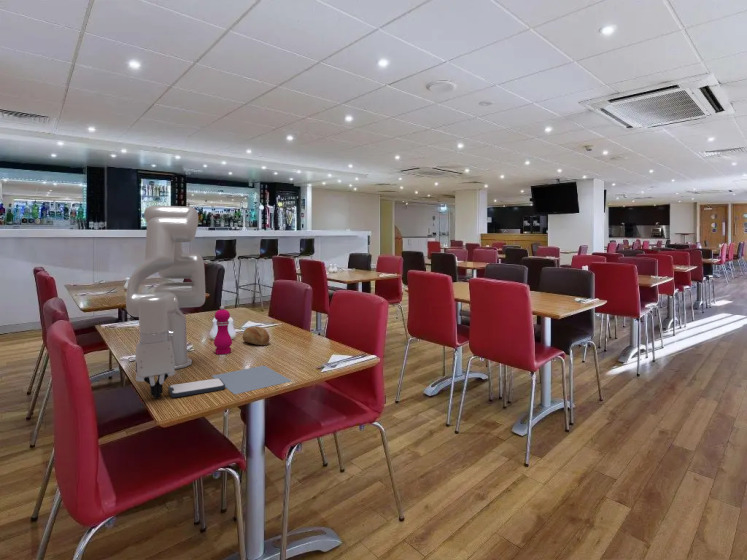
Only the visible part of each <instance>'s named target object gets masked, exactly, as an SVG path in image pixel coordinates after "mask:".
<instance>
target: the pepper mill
mask: <svg viewBox="0 0 747 560" xmlns="http://www.w3.org/2000/svg"><path fill="white" fill-rule="evenodd" d="M230 318H231V315H230V312H229V311H228V310H227V309H225V306H224V305H221V306H219V309H218V310H217V311H216V312H215V313H214V319H215V320H216V326H217V332H216V335H215V337H214V340H213V345H214V347H215V354H216V355H219V356H220V355H221V356H222V355H228V354H231V353H232V347H231V346H232V344H233V340H232V337H231V335H230V333H229V324H230V323H229V322H230V321H229V319H230Z"/></svg>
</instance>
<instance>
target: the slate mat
mask: <svg viewBox="0 0 747 560" xmlns="http://www.w3.org/2000/svg"><path fill="white" fill-rule="evenodd" d="M211 377H212V379H216V378H219V379H221V380H222V382H223V383H224V384H225V389H226V390H228V391H229V392H231V393H232V394H233V395H238V394H243V393H248V392H252V391H256V389H257V390H261V389H264V388H270V387H273V386H277V385H278V386H279V385H282V383H283V384H286V382H287V383H290V381H291V382H292V380H291V379H290V378H287V377H286V376H284V375H282V374H280V373H279V372H276V371H275V370H274V369H272V368H270V367H268V366H266V365H260V366H254V367H250V368H245V369H244V368H243V369H238V370H233V371H229V372H223V373H220V374H214V375H211Z"/></svg>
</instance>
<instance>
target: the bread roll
mask: <svg viewBox="0 0 747 560" xmlns="http://www.w3.org/2000/svg"><path fill="white" fill-rule="evenodd" d="M242 340H243V341H244V343H249V344H254V345H258V346H266V345H268V344H269V342H270V335H269V333H268V331H267V330H266V329H265V328H263V327H262V326H258V325H257V326H254V325H253V326H248V327H246V328H245V329H244V330H243V333H242Z"/></svg>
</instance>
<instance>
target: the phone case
mask: <svg viewBox="0 0 747 560" xmlns="http://www.w3.org/2000/svg"><path fill="white" fill-rule="evenodd" d="M225 389H226V387H225V384H224V383H223V382H222V380H221V379H219V378H216V379H214V378H212V379H211V378H210V379H204V380H197V381H190V382H185V383H184V382H183V383H176V384H171V385H168V392H169V394H170V397H172V398H179V397H185V396H193V395H198V394H205V393H210V392H211V393H212V392H217V391H223V390H225Z"/></svg>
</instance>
